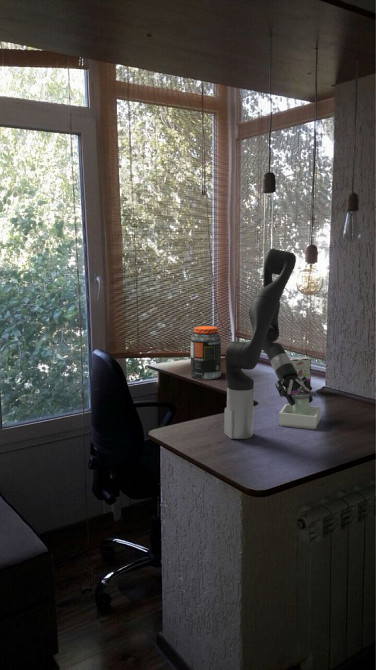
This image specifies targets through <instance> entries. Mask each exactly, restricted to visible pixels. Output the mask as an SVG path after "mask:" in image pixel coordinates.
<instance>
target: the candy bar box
mask: <svg viewBox="0 0 376 670" xmlns="http://www.w3.org/2000/svg"><path fill="white" fill-rule="evenodd" d="M289 358H290V360H291V362H292V364H293V366H294V368H295V369H296V371H297V376H298V377H299V378H300V379H301V378H303V377H306V379H307V380H308V382H309V384H310V385H311V384H312V383H311V378H312V375H311V374H312V358H311V357H308V356H302V357H300V356H299V357H289ZM311 386H312V385H311ZM307 387H308V386H307ZM300 388H301V386H300ZM303 390H304V389H303ZM304 391H305V390H304ZM295 392H299V391H298V390H296V391H294V390H293V391H291V393H290V395H292V394H293V393H295Z"/></svg>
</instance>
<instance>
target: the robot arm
mask: <svg viewBox="0 0 376 670" xmlns="http://www.w3.org/2000/svg"><path fill="white" fill-rule="evenodd" d="M296 261H297V256H296V254H294V253H293V252H290V251H285V250H281V249H277V248H270V249H269V250H268V251H267V253H266V254H265V258H264V262H263V263H264V264H263V281H262V283H263V284H262V285H263V287H262V288H261V289H260V290H259V291H257V293H256V294H255V295H254V297H253V299H252V300H251V303H250V306H249V308H248V317H249V321H250V325H251V328H252V334H251V337H250V340H249V342H246V341H234V340H233V341H229V343H227V346H226V348H225V353H224V365H225V382H226V407H224V419H223V420H224V422H223V423H224V424H223V425H224V428H223V430H224V432H223V434H224V435H226V436H227V437H228V438H229V439H231V440H232V439H234V440H236V439H237V440H245V439H246V440H247V439H250V438H252V437H253V436H254V435H253V432H254V393H255V392H254V391H255V390H254V389H255V387H254V386H255V383H254V379H253V378H251V377H250V376H248V375H246V374H245V372H243V370H253V369H255V368H256V366H258V363H259V361H260V358H261V354H262V352H264V353H265V354H266V356H267V358H268V360H269V362H270V365H271V367H272V369H273V371H274V372H275V375H276V377H277V379H278V380H277V381H276V383H274V385H275V387H276V389H277V392H278V395H279V396H280V397H281V398H283V397H284V398H285V399H286V400H287V403H288V404H290V405H291V406H293V405H294V404H295V401H294V399H293V397H292V395H290V393H291V391H293V390H294V391H296V390H298V391H299V392H304V393H308V394H310V397H309V404H311V403H312V402H313V400H314V398H313V396H312V394H311V391H312V389H313V387H312V385H310V384H309V382H308V380H307V379H306V377H303V378H301V379H300V378H299V377H298V376H297V371H296V369H295V368H294V366H293V364H292V362H291V360H290V358H291V357H289V356H288V354H287V353H286V351H285V349H284V347H283V345H282V344H281V343H279V342H276V341H277V340H278V339H279V338H280V327H279V315H280V308H281V297H282V296H283V294H284V291H285V288H286V286H287V284H288V283H289V280H290V278H291V276H292V274H293V272H294V269H295V267H296V263H297V262H296ZM273 275H276V276H277V275H278V276H277V277H276V279H274V280H273ZM300 386H301V388H300ZM307 386H308V387H307ZM303 389H304V390H305V391H304V390H303Z"/></svg>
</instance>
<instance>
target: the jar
mask: <svg viewBox="0 0 376 670" xmlns="http://www.w3.org/2000/svg"><path fill="white" fill-rule="evenodd" d="M310 394H311V393H310ZM310 394H308V393H304V392H295V393H293V394H292V397H293V399H294V401H295V404H294V405H293V410H292V414H299V415H308V414H309V406H310V403H309V397H310Z"/></svg>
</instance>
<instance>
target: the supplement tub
mask: <svg viewBox="0 0 376 670" xmlns="http://www.w3.org/2000/svg"><path fill="white" fill-rule="evenodd" d="M190 336H191V337H190V340H189V341H190V345H189V347H190V375H191V377H192V378H194V379H199V380H214V379H218V378H219V377H221V376H222V375H221V374H222V339H221V336H220V335H219V331H218V327H217V326H211V325H201V326H200V325H199V326H194V327H193V333H192V335H190Z"/></svg>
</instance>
